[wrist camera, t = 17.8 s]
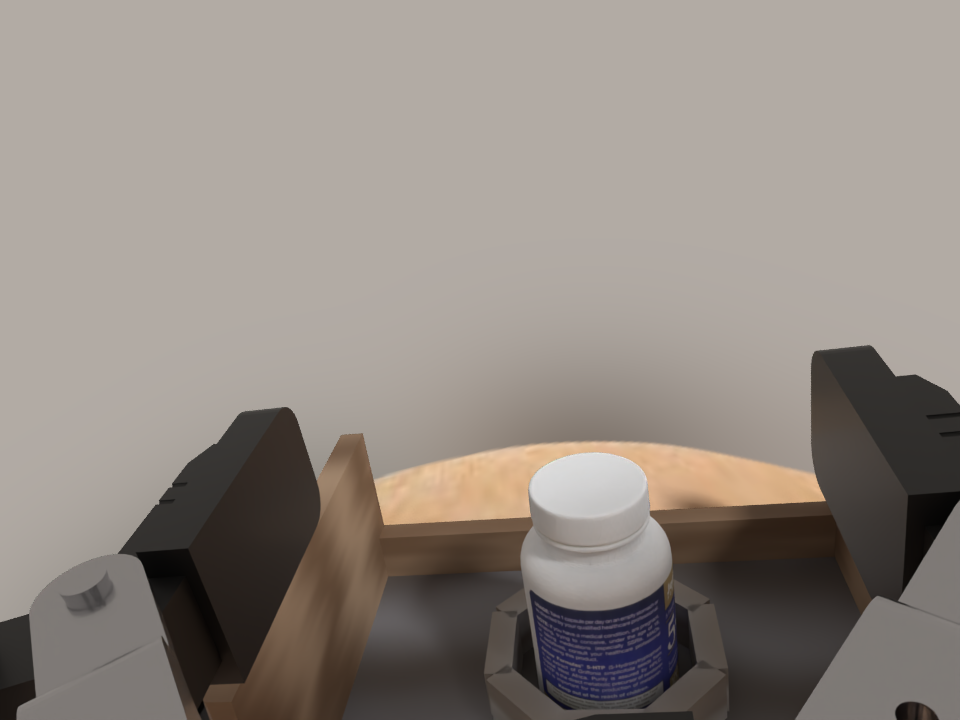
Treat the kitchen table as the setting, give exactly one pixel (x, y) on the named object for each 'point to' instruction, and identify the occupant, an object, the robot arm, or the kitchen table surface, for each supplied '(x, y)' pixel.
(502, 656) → the walled box
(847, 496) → the robot arm
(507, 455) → the kitchen table surface
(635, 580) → the pill bottle
